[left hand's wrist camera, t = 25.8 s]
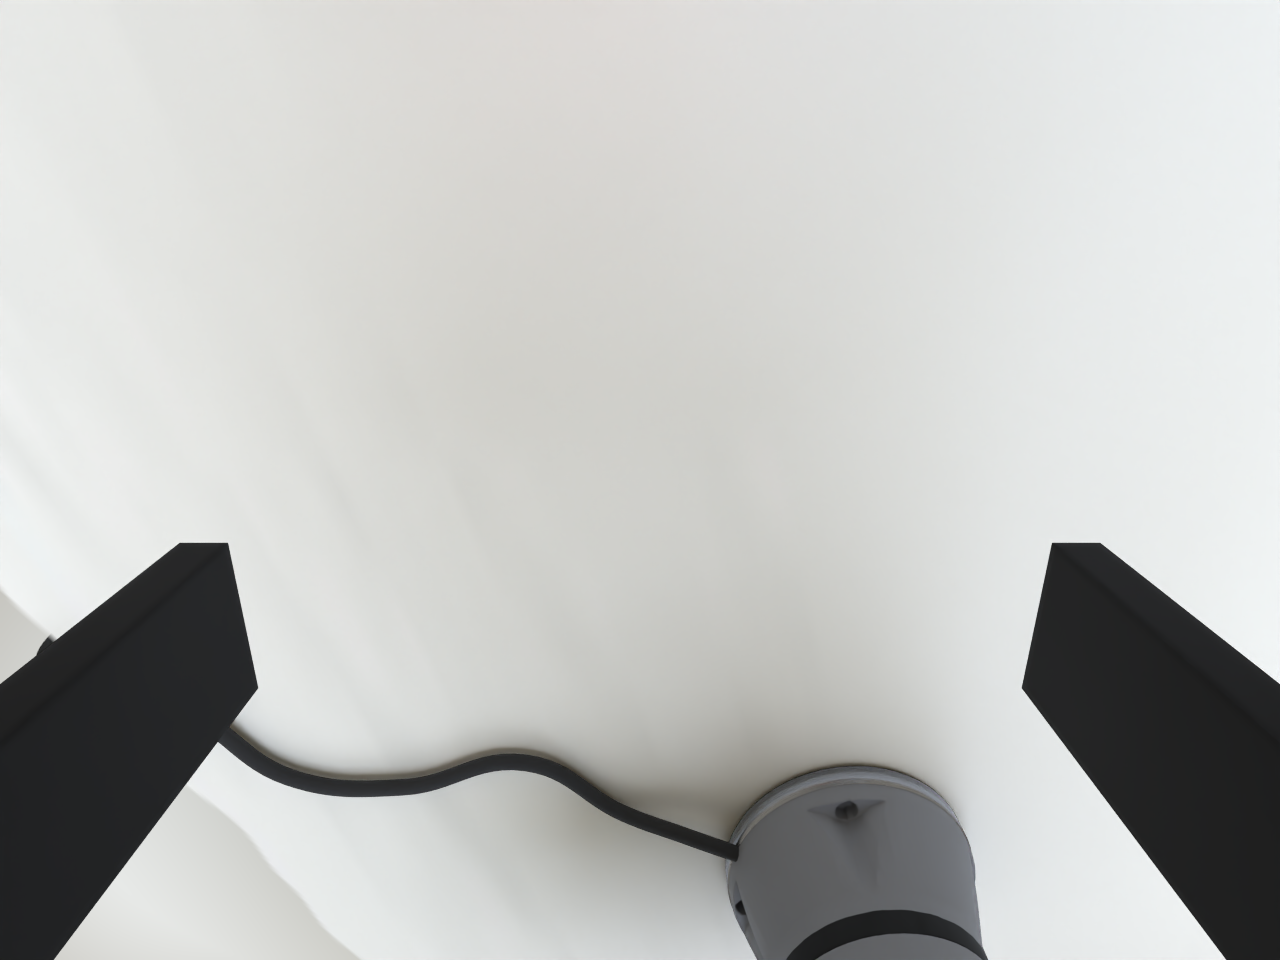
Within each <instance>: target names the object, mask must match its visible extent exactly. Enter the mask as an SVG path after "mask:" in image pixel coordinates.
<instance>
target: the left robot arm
mask: <svg viewBox="0 0 1280 960" xmlns="http://www.w3.org/2000/svg"><path fill="white" fill-rule="evenodd" d="M257 689H258V685H257V680H256V675H255V670H254V665H253V661H252V656H251V651H250V646H249V642H248V637H247V632H246V627H245V622H244V618H243V613H242V608H241V603H240V599H239V594H238V589H237V584H236V579H235V575H234V570H233V565H232V560H231V555H230V551H229V546H228V543H179V544H178V545H177V546H175V547H174V548H173V549H171V550H170V551H169V552H168V553H166V554H165V555H164V556H163V557H161V558H160V559H159V560H157V561H156V562H155V563H154V564H152V565H151V566H150V567H149V568H147V569H146V570H145V571H143V572H142V573H141V574H140V575H138V576H137V577H136V578H135V579H133V580H132V581H131V582H129V583H128V584H127V585H126V586H124V587H123V588H122V589H121V590H119V591H118V592H117V593H115V594H114V595H113V596H112V597H110V598H109V599H108V600H107V601H105V602H104V603H103V604H102V605H100V606H99V607H98V608H96V609H95V610H94V611H93V612H91V613H90V614H89V615H88V616H86V617H85V618H84V619H82V620H81V621H80V622H79V623H77V624H76V625H75V626H74V627H72V628H71V629H70V630H68V631H67V632H66V633H65V634H63V635H62V636H61V637H60V638H58V639H57V640H55V639H54V638H53V637H52V636H51V635H49V636H48V637H47V638H46V640H45V641H44V642H43V643H42V645H41V646H40V648H39V650H38V652H37V654H36V656H35V657H34V658H33V659H32V660H30V661H29V662H28V663H27V664H25V665H24V666H23V667H21V668H20V669H19V670H18V671H16V672H15V673H14V674H13V675H11V676H10V677H9V678H7V679H6V680H5V681H4V682H2V683H1V684H0V960H54V959H55V957H56V956H57V955H58V953H59V952H60V951H61V949H62V948H63V947H64V945H65V944H66V943H67V941H68V940H69V939H70V937H71V936H72V935H73V933H74V932H75V931H76V929H77V928H78V927H79V925H80V924H81V923H82V921H83V920H84V919H85V917H86V916H87V915H88V913H89V912H90V911H91V909H92V908H93V907H94V905H95V904H96V903H97V902H98V900H99V899H100V898H101V896H102V895H103V894H104V892H105V891H106V890H107V888H108V887H109V886H110V884H111V883H112V882H113V880H114V879H115V878H116V876H117V875H118V874H119V872H120V871H121V870H122V868H123V867H124V866H125V864H126V863H127V862H128V860H129V859H130V858H131V856H132V855H133V854H134V852H135V851H136V850H137V848H138V847H139V846H140V844H141V843H142V842H143V840H144V839H145V838H146V836H147V835H148V834H149V832H150V831H151V830H152V828H153V827H154V826H155V824H156V823H157V822H158V820H159V819H160V818H161V817H162V815H163V814H164V813H165V811H166V810H167V809H168V807H169V806H170V805H171V803H172V802H173V801H174V799H175V798H176V797H177V795H178V794H179V793H180V791H181V790H182V789H183V787H184V786H185V785H186V783H187V782H188V781H189V779H190V778H191V777H192V775H193V774H194V773H195V771H196V770H197V769H198V767H199V766H200V765H201V763H202V762H203V761H204V759H205V758H206V757H207V755H208V754H209V753H210V751H211V750H212V749H213V747H214V746H215V745H216V743H217V742H219V743H220V744H221V745H223V746H224V747H225V748H226V749H227V750H229V751H230V752H231V753H232V754H233V755H235V756H236V757H237V758H238V759H240V760H241V761H242V762H244V763H245V764H246V765H248V766H249V767H251V768H252V769H254V770H255V771H257V772H259V773H260V774H262V775H264V776H266V777H268V778H270V779H272V780H274V781H276V782H279V783H282V784H284V785H287V786H290V787H293V788H297V789H300V790H304V791H308V792H313V793H318V794H324V795H331V796H342V797H380V796H401V795H412V794H419V793H424V792H429V791H433V790H436V789H440V788H443V787H446V786H449V785H451V784H454V783H457V782H460V781H462V780H465V779H468V778H471V777H474V776H477V775H480V774H484V773H488V772H493V771H501V770H519V771H528V772H533V773H537V774H541V775H544V776H547V777H549V778H552V779H554V780H556V781H558V782H560V783H561V784H563V785H565V786H566V787H568V788H569V789H571V790H572V791H574V792H575V793H577V794H578V795H579V796H581V797H582V798H584V799H585V800H586V801H588V802H589V803H591V804H592V805H594V806H595V807H597V808H598V809H600V810H601V811H603V812H605V813H606V814H608V815H610V816H612V817H614V818H616V819H618V820H620V821H622V822H625V823H627V824H629V825H632V826H634V827H637V828H640V829H642V830H645V831H648V832H651V833H654V834H656V835H659V836H662V837H665V838H668V839H671V840H674V841H677V842H680V843H683V844H685V845H688V846H691V847H694V848H697V849H699V850H702V851H705V852H708V853H711V854H714V855H717V856H720V857H722V858H725V859H726V866H725V867H726V877H727V885H728V893H729V898H730V902H731V905H732V908H733V911H734V914H735V917H736V919H737V921H738V923H739V925H740V927H741V929H742V931H743V933H744V934H745V936H746V939H747V941H748V943H749V945H750V947H751V949H752V951H753V952H754V954H755V956H756V958H757V960H988V958H987V956H986V954H985V951H984V949H983V947H982V939H981V930H980V920H979V911H978V903H977V895H976V888H975V865H974V860H973V856H972V853H971V848H970V845H969V842H968V839H967V837H966V835H965V833H964V831H963V829H962V827H961V825H960V823H959V821H958V819H957V817H956V815H955V813H954V812H953V810H952V809H951V807H950V806H949V805H948V803H947V802H946V801H945V800H944V799H943V798H942V797H941V796H940V795H939V794H938V793H936V792H935V791H934V790H933V789H931V788H930V787H928V786H927V785H925V784H924V783H922V782H920V781H918V780H917V779H914V778H912V777H910V776H907V775H905V774H902V773H899V772H896V771H891V770H887V769H882V768H876V767H865V766H846V767H835V768H829V769H823V770H819V771H815V772H811V773H808V774H805V775H802V776H799V777H797V778H795V779H792V780H790V781H788V782H786V783H784V784H782V785H780V786H778V787H777V788H775V789H774V790H772V791H770V792H769V793H767V794H766V795H765V796H764V797H762V798H761V799H760V800H758V801H757V802H756V803H755V804H754V805H753V806H752V807H751V808H750V809H749V810H748V811H747V813H746V814H745V815H744V816H743V818H742V819H741V820H740V822H739V823H738V825H737V827H736V828H735V830H734V832H733V834H732V837H731V839H730V841H729V843H728V842H726V841H723V840H720V839H717V838H714V837H711V836H708V835H705V834H703V833H700V832H697V831H694V830H691V829H688V828H686V827H683V826H680V825H677V824H674V823H671V822H668V821H665V820H662V819H659V818H656V817H654V816H651V815H648V814H645V813H642V812H640V811H637V810H635V809H632V808H630V807H628V806H626V805H623V804H621V803H619V802H617V801H616V800H614V799H612V798H610V797H609V796H607V795H605V794H604V793H602V792H601V791H599V790H598V789H597V788H595V787H594V786H592V785H591V784H590V783H588V782H587V781H586V780H584V779H583V778H581V777H580V776H578V775H577V774H576V773H574V772H572V771H571V770H569V769H568V768H566V767H564V766H562V765H560V764H558V763H555V762H553V761H550V760H548V759H544V758H541V757H537V756H531V755H524V754H499V755H492V756H487V757H483V758H479V759H476V760H472V761H470V762H467V763H464V764H461V765H458V766H456V767H453V768H450V769H448V770H445V771H442V772H439V773H436V774H432V775H428V776H424V777H418V778H410V779H397V780H375V781H351V780H337V779H329V778H323V777H319V776H314V775H310V774H306V773H303V772H300V771H296V770H293V769H291V768H288V767H286V766H283V765H281V764H279V763H277V762H275V761H273V760H271V759H270V758H268V757H266V756H265V755H263V754H262V753H260V752H259V751H258V750H256V749H255V748H254V747H252V746H251V745H250V744H249V743H247V742H246V741H245V740H244V739H243V738H241V737H240V736H239V735H238V734H237V733H235V732H234V731H233V730H232V729H231V728H229V726H230V725H231V724H232V722H233V721H234V720H235V718H236V717H237V716H238V714H239V713H240V712H241V710H242V709H243V708H244V706H245V705H246V704H247V702H248V701H249V700H250V698H251V697H252V696H253V694H254V693H255V692H256V690H257ZM1022 689H1023V690H1024V692H1025V693H1026V694H1027V696H1028V697H1029V698H1030V700H1031V701H1032V702H1033V704H1034V705H1035V706H1036V708H1037V709H1038V710H1039V712H1040V713H1041V714H1042V716H1043V717H1044V718H1045V720H1046V721H1047V722H1048V724H1049V725H1050V726H1051V728H1052V729H1053V730H1054V732H1055V733H1056V734H1057V736H1058V737H1059V738H1060V739H1061V741H1062V742H1063V743H1064V745H1065V746H1066V747H1067V749H1068V750H1069V751H1070V753H1071V754H1072V755H1073V757H1074V758H1075V759H1076V761H1077V762H1078V763H1079V765H1080V766H1081V767H1082V769H1083V770H1084V771H1085V773H1086V774H1087V775H1088V777H1089V778H1090V779H1091V781H1092V782H1093V783H1094V785H1095V786H1096V787H1097V789H1098V790H1099V791H1100V793H1101V794H1102V795H1103V797H1104V798H1105V799H1106V801H1107V802H1108V803H1109V805H1110V806H1111V807H1112V809H1113V810H1114V811H1115V813H1116V814H1117V815H1118V817H1119V818H1120V819H1121V821H1122V822H1123V823H1124V824H1125V826H1126V827H1127V828H1128V830H1129V831H1130V832H1131V834H1132V835H1133V836H1134V838H1135V839H1136V840H1137V842H1138V843H1139V844H1140V846H1141V847H1142V848H1143V850H1144V851H1145V852H1146V854H1147V855H1148V856H1149V858H1150V859H1151V860H1152V862H1153V863H1154V864H1155V866H1156V867H1157V868H1158V870H1159V871H1160V872H1161V874H1162V875H1163V876H1164V878H1165V879H1166V880H1167V882H1168V883H1169V884H1170V886H1171V887H1172V888H1173V890H1174V891H1175V892H1176V894H1177V895H1178V896H1179V898H1180V899H1181V900H1182V902H1183V903H1184V904H1185V906H1186V907H1187V908H1188V909H1189V911H1190V912H1191V913H1192V915H1193V916H1194V917H1195V919H1196V920H1197V921H1198V923H1199V924H1200V925H1201V927H1202V928H1203V929H1204V931H1205V932H1206V933H1207V935H1208V936H1209V937H1210V939H1211V940H1212V941H1213V943H1214V944H1215V945H1216V947H1217V948H1218V949H1219V951H1220V952H1221V953H1222V955H1223V956H1224V957H1225V959H1226V960H1280V684H1279V683H1278V682H1276V681H1275V680H1274V679H1273V678H1271V677H1270V676H1269V675H1268V674H1266V673H1265V672H1264V671H1262V670H1261V669H1260V668H1259V667H1257V666H1256V665H1255V664H1254V663H1252V662H1251V661H1250V660H1248V659H1247V658H1246V657H1245V656H1243V655H1242V654H1241V653H1240V652H1238V651H1237V650H1236V649H1234V648H1233V647H1232V646H1231V645H1229V644H1228V643H1227V642H1226V641H1224V640H1223V639H1222V638H1220V637H1219V636H1218V635H1217V634H1215V633H1214V632H1213V631H1212V630H1210V629H1209V628H1208V627H1206V626H1205V625H1204V624H1203V623H1201V622H1200V621H1199V620H1198V619H1196V618H1195V617H1194V616H1192V615H1191V614H1190V613H1189V612H1187V611H1186V610H1185V609H1184V608H1182V607H1181V606H1180V605H1178V604H1177V603H1176V602H1175V601H1173V600H1172V599H1171V598H1170V597H1168V596H1167V595H1166V594H1165V593H1163V592H1162V591H1161V590H1159V589H1158V588H1157V587H1156V586H1154V585H1153V584H1152V583H1151V582H1149V581H1148V580H1147V579H1145V578H1144V577H1143V576H1142V575H1140V574H1139V573H1138V572H1137V571H1135V570H1134V569H1133V568H1131V567H1130V566H1129V565H1128V564H1126V563H1125V562H1124V561H1123V560H1121V559H1120V558H1119V557H1117V556H1116V555H1115V554H1114V553H1112V552H1111V551H1110V550H1109V549H1107V548H1106V547H1105V546H1103V545H1102V544H1101V543H1052V546H1051V551H1050V555H1049V560H1048V565H1047V570H1046V575H1045V579H1044V584H1043V589H1042V594H1041V599H1040V603H1039V608H1038V613H1037V618H1036V622H1035V627H1034V632H1033V637H1032V642H1031V646H1030V651H1029V656H1028V661H1027V665H1026V670H1025V675H1024V680H1023V685H1022Z"/></svg>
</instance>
